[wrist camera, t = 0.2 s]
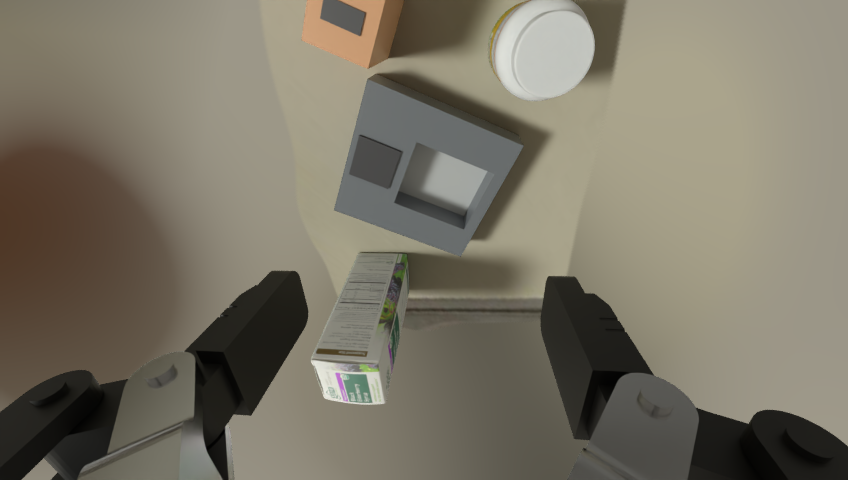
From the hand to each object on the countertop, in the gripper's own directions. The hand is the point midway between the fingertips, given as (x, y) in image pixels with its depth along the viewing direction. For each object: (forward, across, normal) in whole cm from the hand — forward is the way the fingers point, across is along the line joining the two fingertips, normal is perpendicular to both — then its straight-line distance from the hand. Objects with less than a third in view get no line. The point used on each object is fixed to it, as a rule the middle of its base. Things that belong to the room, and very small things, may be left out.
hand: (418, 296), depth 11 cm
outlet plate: (+22, +2, +1) cm, 22 cm away
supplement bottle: (+21, -6, -8) cm, 23 cm away
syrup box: (+23, +7, +14) cm, 28 cm away
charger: (+20, +5, -10) cm, 24 cm away
